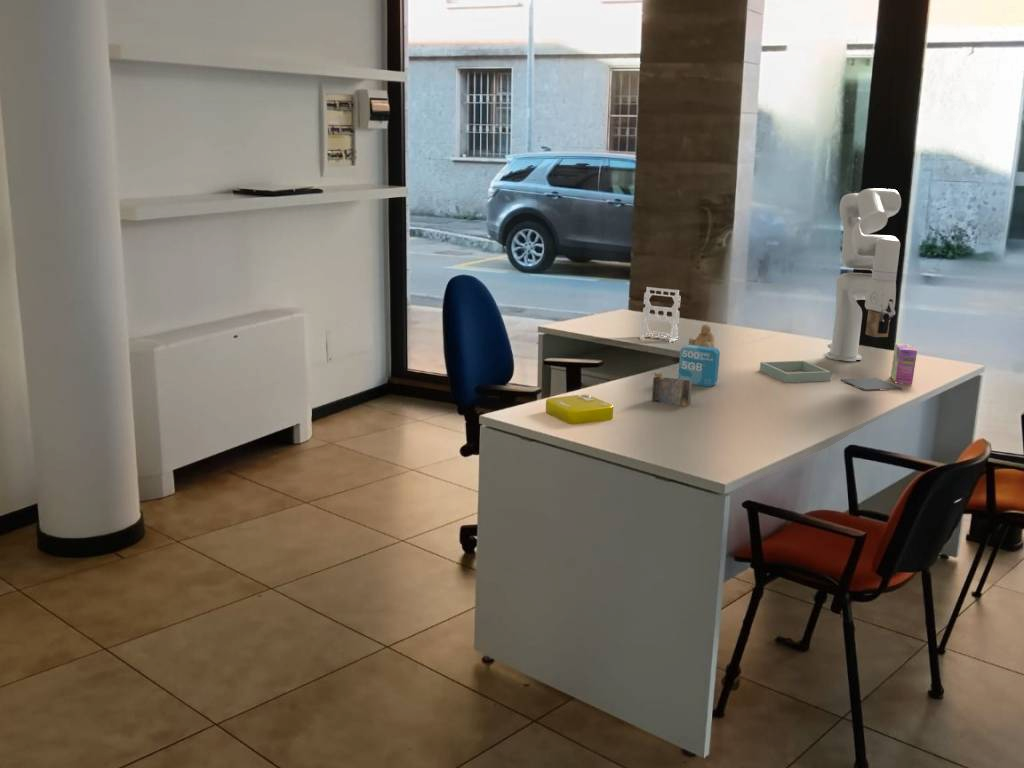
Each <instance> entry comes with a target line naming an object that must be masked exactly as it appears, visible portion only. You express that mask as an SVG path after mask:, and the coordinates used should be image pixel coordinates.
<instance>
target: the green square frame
mask: <svg viewBox="0 0 1024 768" xmlns="http://www.w3.org/2000/svg"><path fill="white" fill-rule="evenodd" d="M798 370H802V371H800V372H786V371H798ZM759 371H761V372H763V373H764V374H767V375H769V376H771V377H773V378H775V379H778V380H780V381H782V382H784V383H802V382H808V383H809V382H827V381H828V382H829V381H830V382H831V378H832V371H830V370H828V369H825V368H823V367H821V366H817V365H815V364H814V363H811V362H808V361H806V360H785V361H783V360H781V361H760V364H759ZM803 371H804V372H803Z"/></svg>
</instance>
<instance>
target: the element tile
mask: <svg viewBox="0 0 1024 768" xmlns="http://www.w3.org/2000/svg"><path fill="white" fill-rule="evenodd" d="M545 414H547V415H549V416H551V417H554V418H555V419H558V420H559V421H562V422H563V423H566V424H567V425H583V424H590V423H596V422H597V423H598V422H604V421H605V422H607V421H611V420H613V419H614V418H613V417H614V415H613V414H614V405H613V404H611V403H609V402H606V401H604V400H601V399H599V398H597V397H594V396H592V395H590V394H586V393H585V394H575V395H567V396H566V395H565V396H559V397H548V398H547V399H546V401H545Z"/></svg>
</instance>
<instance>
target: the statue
mask: <svg viewBox="0 0 1024 768" xmlns="http://www.w3.org/2000/svg"><path fill="white" fill-rule="evenodd" d="M711 329H712V328H711V326H710V325H709V324H707V323H706V324H703V325H701V329H700V332H699V334H698V335H697V337H696V338H695V339H694V338H689V339H688V344H687V345H695V346H703V347H711V348H715V336H714V334H713V333H712V332H711V331H712V330H711Z"/></svg>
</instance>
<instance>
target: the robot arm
mask: <svg viewBox="0 0 1024 768" xmlns="http://www.w3.org/2000/svg"><path fill="white" fill-rule="evenodd" d="M901 207H902V198H901V195H900V193H899V192H898V190H896V189H893V188H892V189H891V188H888V189H887V188H866V189H862V190H861V191H859V192H855V193H854V192H852V193H847V194H845V195H843V196H842V197H841V199H840V202H839V216H840V220H841V224H842V225H841V226H842V230H843V232H842V234H843V235H842V247H841V248H842V250H841V262H842V263H841V264H842V266H843V267H845V268H846V269H849V270H850V269H851V270H862V271H863V270H864V271H865V270H867V271H871V272H872V273H863V272H844V273H841V274H840V275H838V277H837V278H836V280H835V311H834V320H833V321H834V322H833V329H832V338H831V343H830V344H827V348H828V349H829V351H827V352H826V353H825V356H826V357H827V358H828V359H830V360H835V361H839V360H844V361H843V362H857V361H856V360H860V361H862V359H863V358H862V357H863V356H862V355H861V354H859V345H860V338H861V337H860V336H861V330H862V329H861V328H862V327H861V326H862V320H863V310H862V307H861V306H860V305H859V303H858V302H857V301H860V300H863V301H864V307H865V309H866V312H867V313H868V310H872V311H876V312H880V313H881V321H879V329H878V333H879V334H886V333H887V332H888V333H889V331H888V324H889V325H890V323H889V322H891V320H892V318H893V317H894V316H895V315H896V309H895V307H896V296H897V295H896V294H897V283H896V282H897V276H898V275H897V274H898V266H899V257H900V249H901V242H900V240H899V239H898V238H897V237H896V236H894V235H888V234H887V235H886V234H873V233H876V232H878V231H880V230H882V229H883V228H884V227H885V226H887V223H888V219H889V218H890V217H893V216H895V215H896V214H898V213H899V211H900V209H901ZM884 311H887V312H884ZM884 314H886V315H885V317H884Z"/></svg>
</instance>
